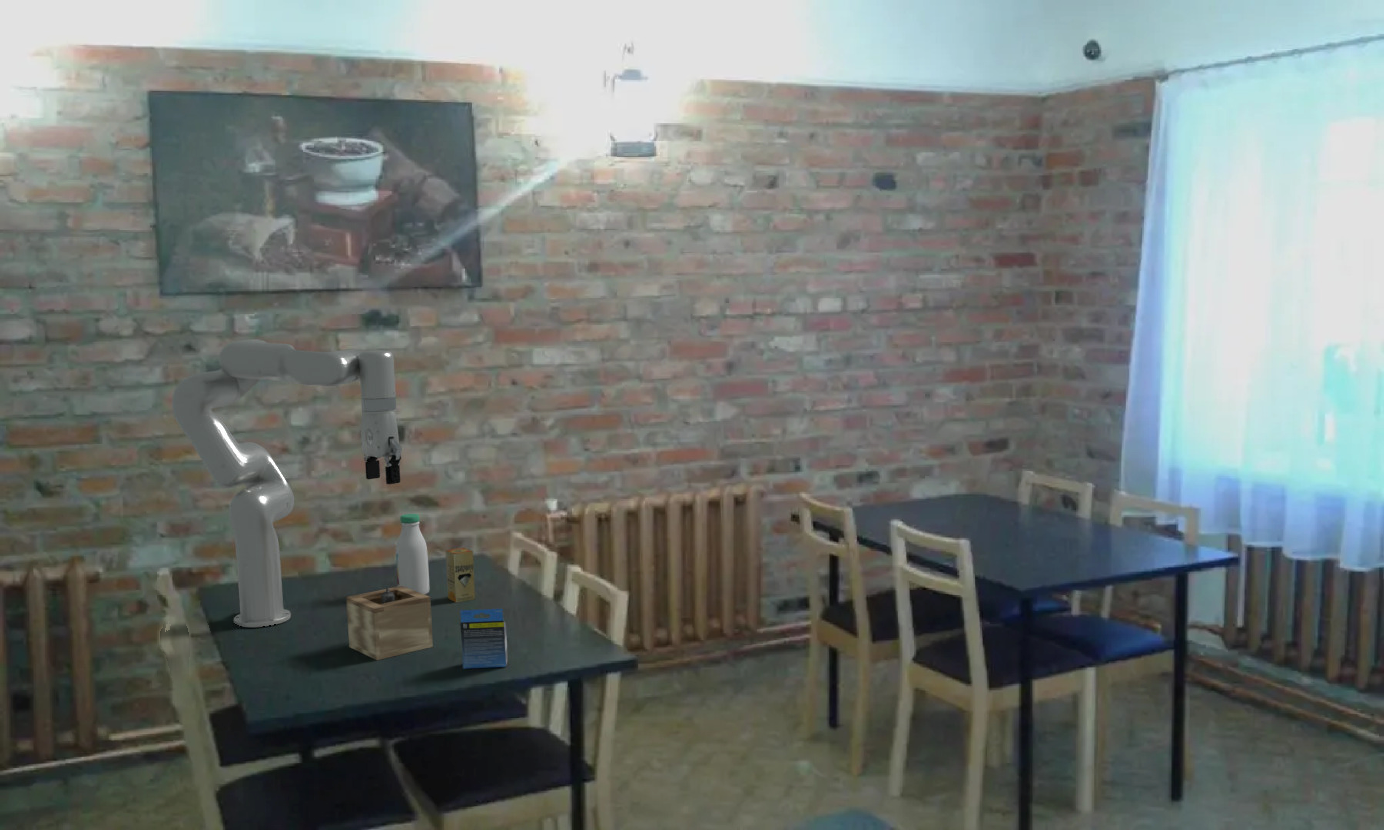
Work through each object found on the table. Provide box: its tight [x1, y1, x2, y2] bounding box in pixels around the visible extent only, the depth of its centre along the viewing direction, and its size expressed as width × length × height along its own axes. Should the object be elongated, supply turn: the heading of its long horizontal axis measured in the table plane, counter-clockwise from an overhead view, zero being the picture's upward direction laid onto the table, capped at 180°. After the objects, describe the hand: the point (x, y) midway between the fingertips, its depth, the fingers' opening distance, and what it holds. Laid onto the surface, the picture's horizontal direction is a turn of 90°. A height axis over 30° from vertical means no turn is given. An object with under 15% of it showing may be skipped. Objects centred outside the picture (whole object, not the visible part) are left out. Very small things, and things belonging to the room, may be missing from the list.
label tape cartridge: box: [459, 607, 508, 670], centre depth 252 cm, size 9×4×12 cm, turn 92°
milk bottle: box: [395, 513, 430, 595], centre depth 310 cm, size 8×8×20 cm
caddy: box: [345, 585, 434, 661], centre depth 266 cm, size 13×13×11 cm
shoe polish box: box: [445, 547, 476, 604], centre depth 304 cm, size 5×5×12 cm
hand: (383, 480), depth 280 cm, fingers open, 9 cm apart
